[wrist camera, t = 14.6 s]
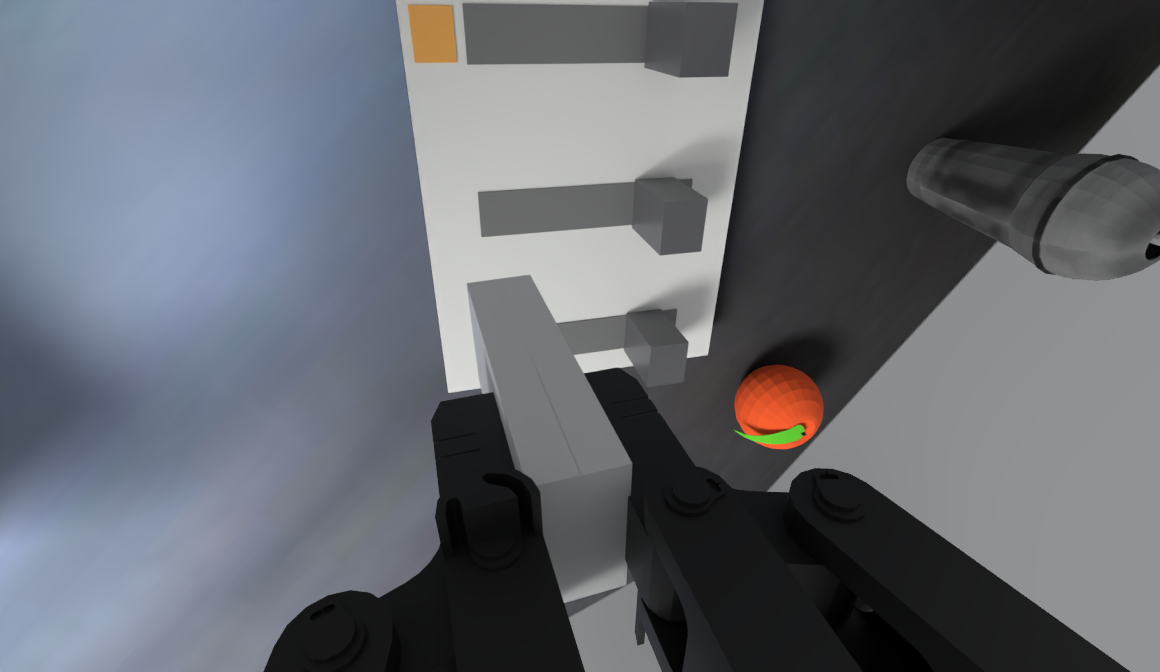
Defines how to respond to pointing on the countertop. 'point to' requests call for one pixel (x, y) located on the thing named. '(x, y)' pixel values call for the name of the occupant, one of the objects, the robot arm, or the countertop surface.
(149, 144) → the countertop surface
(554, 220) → the breaker panel
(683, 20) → the handle
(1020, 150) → the beverage cup
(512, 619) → the robot arm
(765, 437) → the clementine
